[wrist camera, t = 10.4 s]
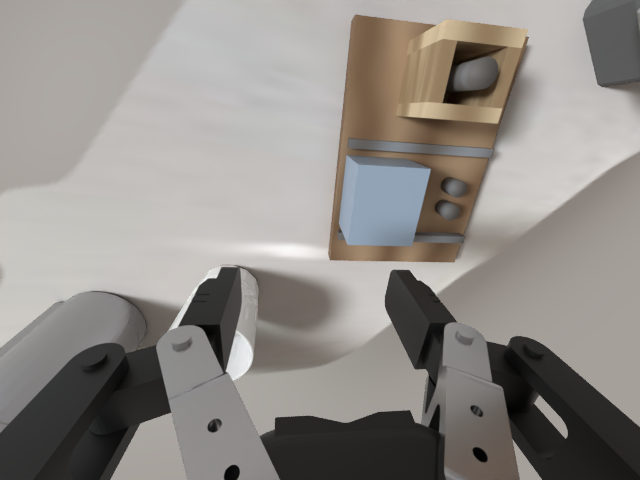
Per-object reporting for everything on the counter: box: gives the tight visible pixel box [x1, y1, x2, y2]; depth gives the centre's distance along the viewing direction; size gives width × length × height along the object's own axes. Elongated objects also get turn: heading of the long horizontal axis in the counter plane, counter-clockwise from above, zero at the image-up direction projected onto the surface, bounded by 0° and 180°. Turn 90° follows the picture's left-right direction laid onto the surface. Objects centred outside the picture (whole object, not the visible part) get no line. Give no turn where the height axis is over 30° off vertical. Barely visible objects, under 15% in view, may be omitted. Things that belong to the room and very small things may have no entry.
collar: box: [396, 19, 528, 124], centre depth 21 cm, size 6×6×6 cm
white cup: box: [167, 265, 259, 381], centre depth 28 cm, size 8×8×10 cm
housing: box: [339, 155, 431, 246], centre depth 25 cm, size 6×7×5 cm
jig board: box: [328, 15, 529, 262], centre depth 24 cm, size 15×22×8 cm
